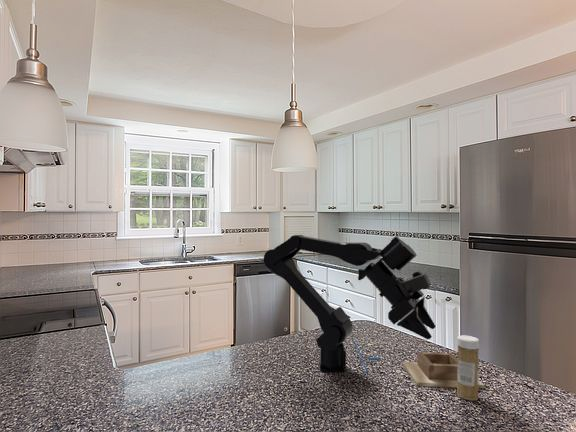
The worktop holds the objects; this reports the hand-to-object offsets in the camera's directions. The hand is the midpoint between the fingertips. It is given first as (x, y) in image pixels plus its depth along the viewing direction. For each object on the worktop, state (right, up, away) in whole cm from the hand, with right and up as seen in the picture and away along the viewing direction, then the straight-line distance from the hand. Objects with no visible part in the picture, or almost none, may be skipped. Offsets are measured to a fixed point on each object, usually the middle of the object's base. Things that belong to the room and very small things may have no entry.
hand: (432, 332), depth 87 cm
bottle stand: (+5, -13, +7) cm, 16 cm away
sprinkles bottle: (+7, -14, -4) cm, 16 cm away
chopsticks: (-11, -14, +19) cm, 26 cm away
